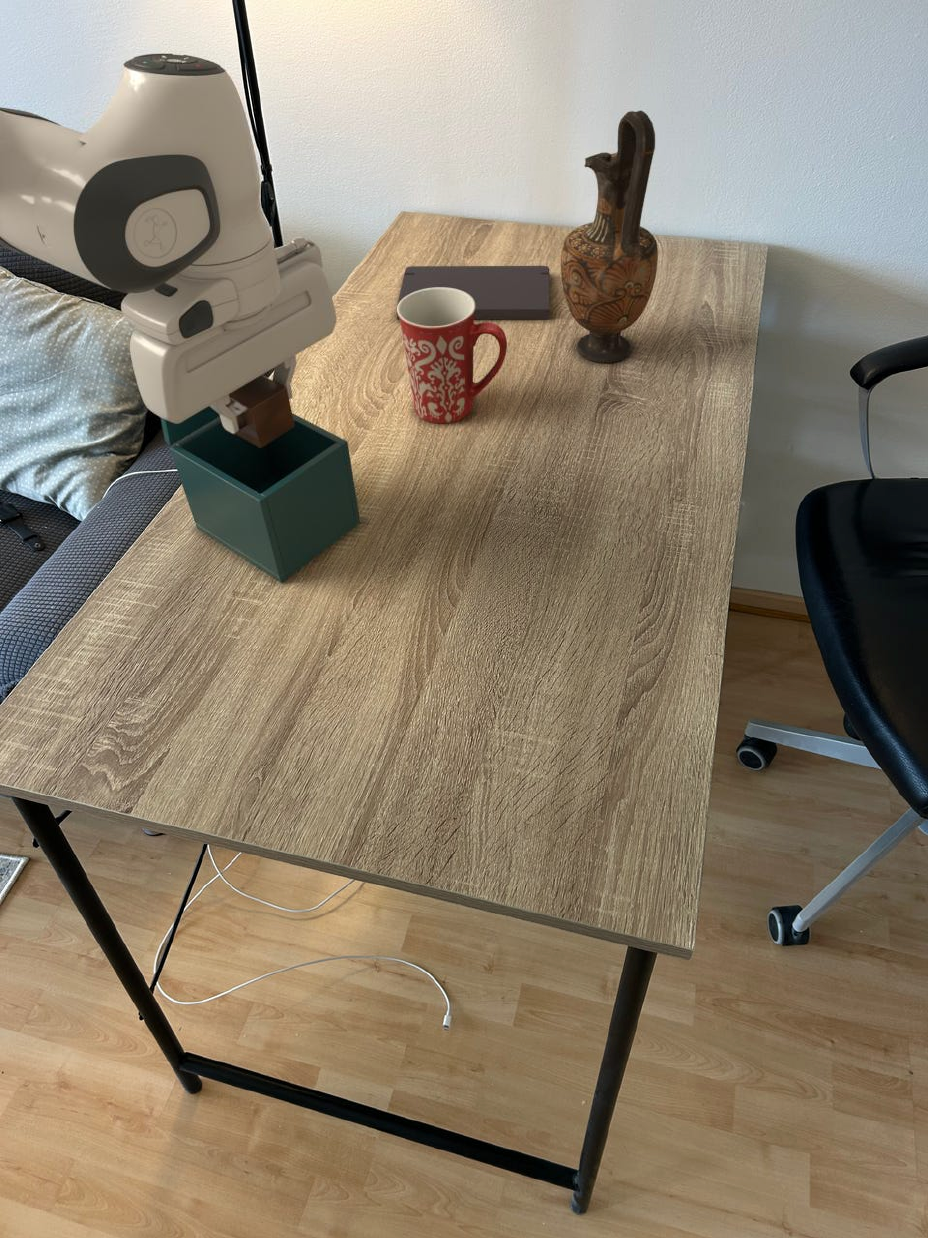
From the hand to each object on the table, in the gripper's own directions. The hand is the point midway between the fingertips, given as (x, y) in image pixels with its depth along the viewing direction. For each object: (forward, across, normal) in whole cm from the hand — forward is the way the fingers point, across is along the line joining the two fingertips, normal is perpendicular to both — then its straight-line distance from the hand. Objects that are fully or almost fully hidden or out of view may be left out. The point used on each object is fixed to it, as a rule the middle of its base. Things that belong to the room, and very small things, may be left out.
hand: (259, 413), depth 85 cm
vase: (+15, -50, +7) cm, 53 cm away
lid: (-3, 0, -6) cm, 7 cm away
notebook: (+15, -51, -16) cm, 56 cm away
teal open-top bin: (+15, 0, -2) cm, 15 cm away
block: (+2, 0, 0) cm, 2 cm away
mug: (+15, -28, 0) cm, 32 cm away
